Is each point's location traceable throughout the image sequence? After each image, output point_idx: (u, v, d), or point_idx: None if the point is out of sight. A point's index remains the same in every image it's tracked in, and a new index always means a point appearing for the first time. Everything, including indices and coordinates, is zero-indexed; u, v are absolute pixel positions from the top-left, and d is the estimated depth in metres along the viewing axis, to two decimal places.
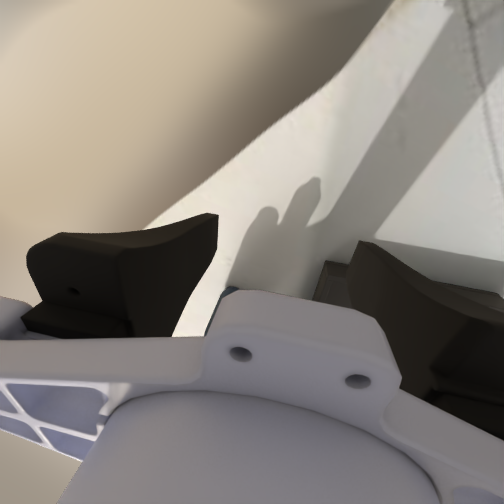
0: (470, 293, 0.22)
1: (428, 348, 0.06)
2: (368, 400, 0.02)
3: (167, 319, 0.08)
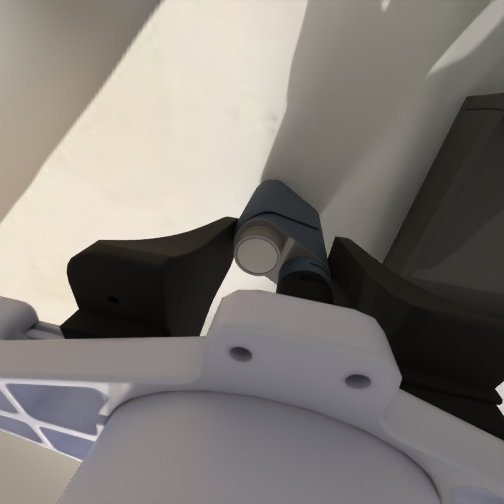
0: None
1: None
2: (368, 400, 0.02)
3: (195, 325, 0.08)
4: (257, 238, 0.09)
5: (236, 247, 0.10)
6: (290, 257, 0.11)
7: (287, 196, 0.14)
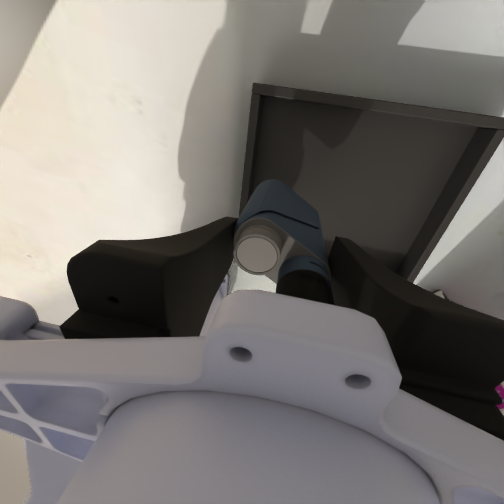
0: None
1: None
2: (368, 400, 0.02)
3: (195, 325, 0.08)
4: (257, 237, 0.09)
5: (236, 246, 0.10)
6: (290, 256, 0.11)
7: (287, 195, 0.14)
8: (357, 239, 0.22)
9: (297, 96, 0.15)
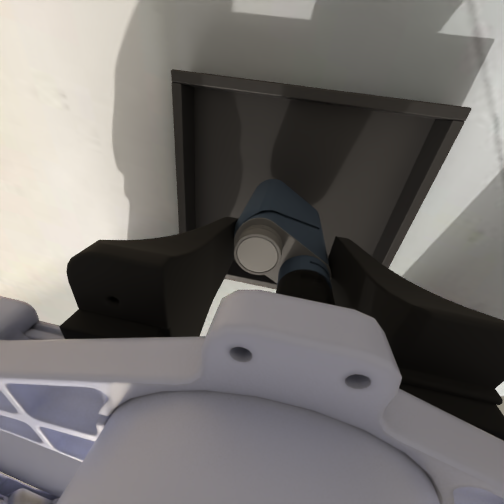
0: None
1: None
2: (368, 400, 0.02)
3: (195, 326, 0.08)
4: (257, 237, 0.09)
5: (236, 246, 0.10)
6: (290, 256, 0.11)
7: (287, 195, 0.14)
8: None
9: (222, 84, 0.13)
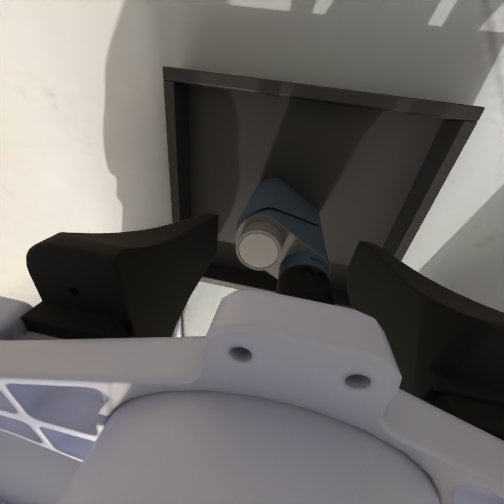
0: None
1: (428, 348, 0.06)
2: (368, 400, 0.02)
3: (167, 319, 0.08)
4: (258, 233, 0.10)
5: (238, 242, 0.10)
6: (290, 252, 0.11)
7: (287, 193, 0.14)
8: None
9: (217, 82, 0.12)
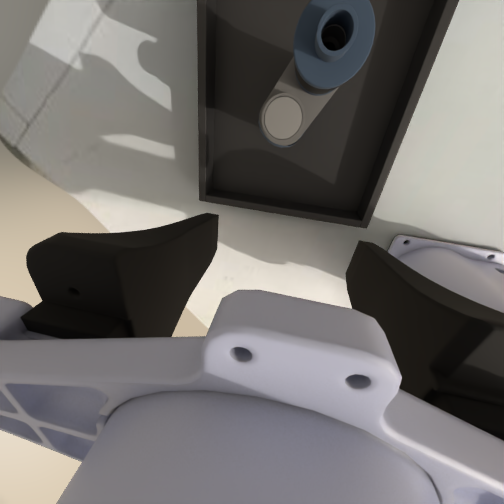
0: None
1: (428, 348, 0.06)
2: (368, 400, 0.02)
3: (167, 319, 0.08)
4: (265, 118, 0.11)
5: (274, 139, 0.11)
6: (296, 83, 0.11)
7: None
8: None
9: (203, 164, 0.19)
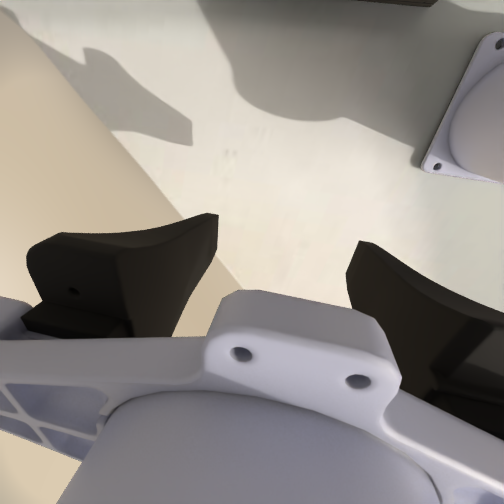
0: None
1: (428, 348, 0.06)
2: (368, 400, 0.02)
3: (167, 319, 0.08)
4: None
5: None
6: None
7: None
8: None
9: None
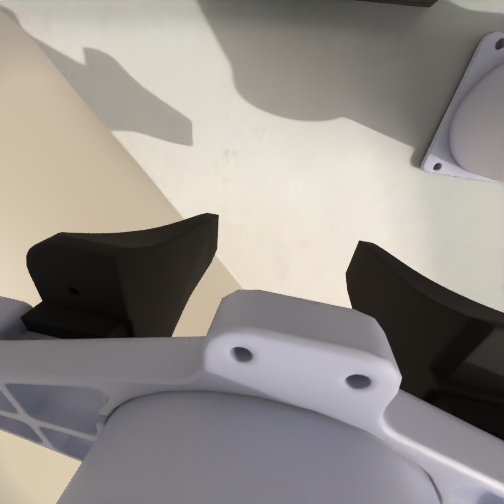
0: None
1: (428, 348, 0.06)
2: (368, 400, 0.02)
3: (167, 319, 0.08)
4: None
5: None
6: None
7: None
8: None
9: None
